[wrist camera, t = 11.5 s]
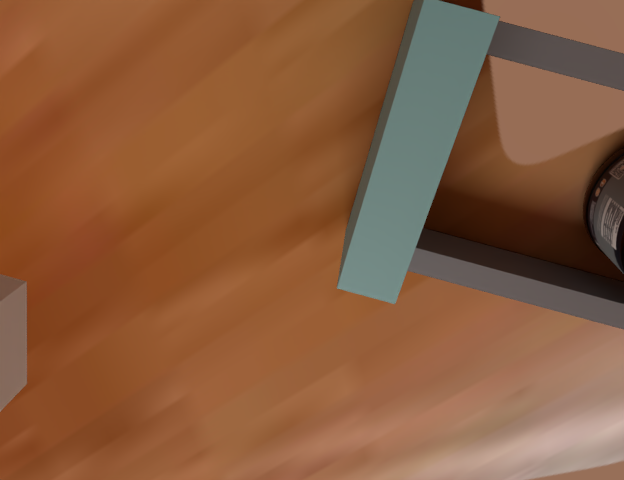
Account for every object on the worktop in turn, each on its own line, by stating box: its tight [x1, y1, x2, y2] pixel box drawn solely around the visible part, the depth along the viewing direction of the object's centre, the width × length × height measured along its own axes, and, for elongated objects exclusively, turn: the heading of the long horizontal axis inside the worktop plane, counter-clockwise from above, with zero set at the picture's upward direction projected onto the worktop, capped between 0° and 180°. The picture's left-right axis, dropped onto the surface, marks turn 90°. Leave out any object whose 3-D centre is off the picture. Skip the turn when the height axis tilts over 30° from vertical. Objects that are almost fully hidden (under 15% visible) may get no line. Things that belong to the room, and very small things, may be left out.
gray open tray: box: [337, 0, 624, 329], centre depth 35 cm, size 18×29×10 cm, turn 76°
